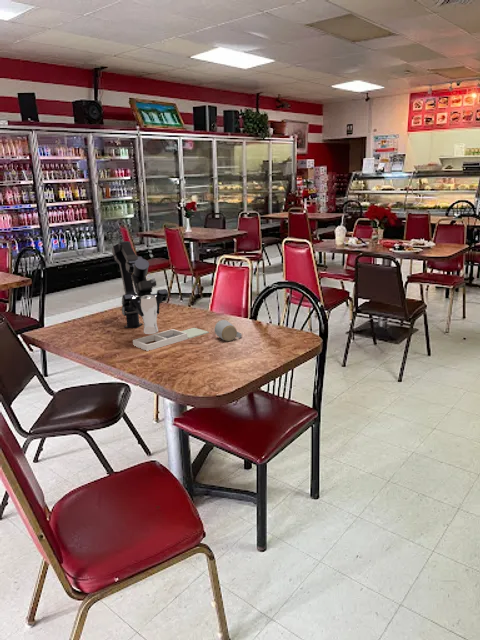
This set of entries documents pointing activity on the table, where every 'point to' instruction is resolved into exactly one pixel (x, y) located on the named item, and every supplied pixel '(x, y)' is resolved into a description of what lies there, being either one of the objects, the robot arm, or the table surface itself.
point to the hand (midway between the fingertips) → (150, 315)
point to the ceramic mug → (226, 330)
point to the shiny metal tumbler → (149, 313)
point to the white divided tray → (166, 338)
